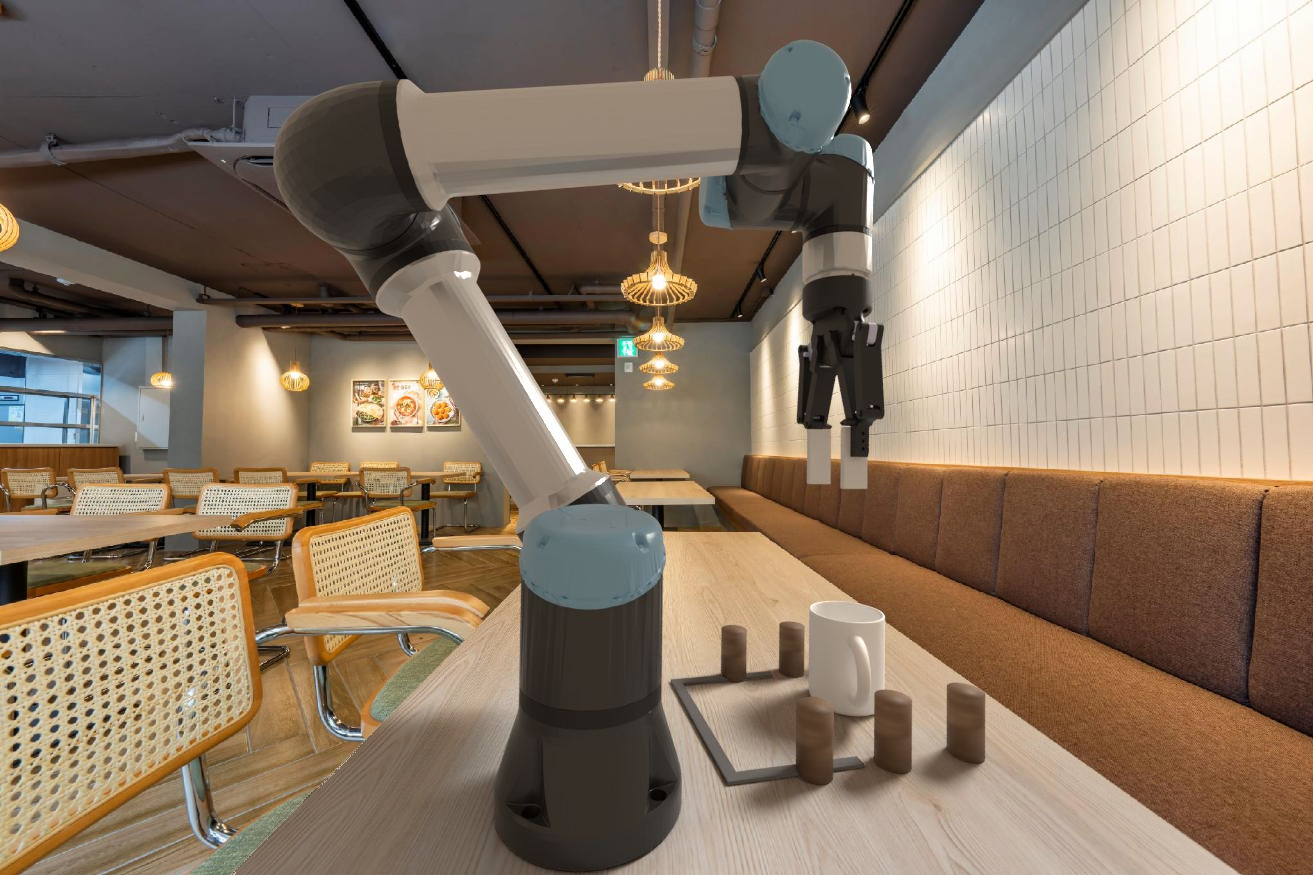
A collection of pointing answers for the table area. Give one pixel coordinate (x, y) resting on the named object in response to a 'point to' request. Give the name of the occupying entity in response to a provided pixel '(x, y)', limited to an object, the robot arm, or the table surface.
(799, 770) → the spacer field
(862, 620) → the mug
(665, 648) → the table surface
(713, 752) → the frame
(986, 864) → the table surface
